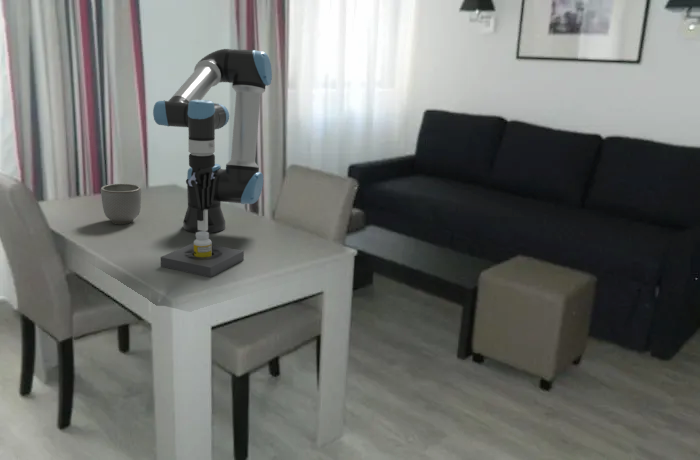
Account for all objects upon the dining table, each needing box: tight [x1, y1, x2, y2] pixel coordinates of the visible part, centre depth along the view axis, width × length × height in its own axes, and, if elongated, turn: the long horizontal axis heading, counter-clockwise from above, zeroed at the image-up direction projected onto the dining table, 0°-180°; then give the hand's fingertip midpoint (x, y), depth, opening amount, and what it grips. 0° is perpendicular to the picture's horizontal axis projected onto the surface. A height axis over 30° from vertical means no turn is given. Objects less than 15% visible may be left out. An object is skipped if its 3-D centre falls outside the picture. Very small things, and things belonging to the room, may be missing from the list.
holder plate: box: [160, 242, 245, 278], centre depth 199 cm, size 18×18×3 cm
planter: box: [100, 183, 142, 225], centre depth 236 cm, size 14×14×13 cm
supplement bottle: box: [193, 231, 213, 257], centre depth 198 cm, size 5×5×10 cm
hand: (202, 229), depth 197 cm, fingers closed
